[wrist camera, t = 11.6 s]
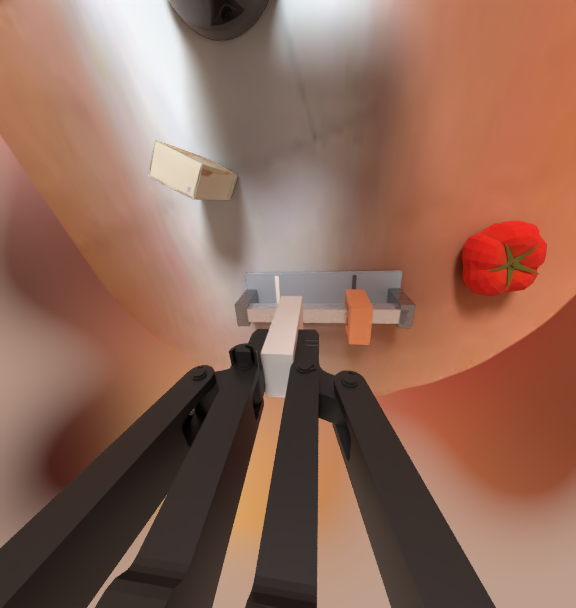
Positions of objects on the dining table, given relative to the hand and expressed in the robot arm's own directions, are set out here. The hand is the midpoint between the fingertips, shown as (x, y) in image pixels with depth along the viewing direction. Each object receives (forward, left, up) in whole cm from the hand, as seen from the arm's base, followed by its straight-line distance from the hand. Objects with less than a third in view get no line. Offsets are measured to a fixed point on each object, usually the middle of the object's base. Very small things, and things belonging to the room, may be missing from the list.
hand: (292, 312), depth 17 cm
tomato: (+25, +15, -27) cm, 40 cm away
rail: (+7, -7, -27) cm, 28 cm away
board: (+7, -7, -27) cm, 28 cm away
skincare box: (-19, +1, -27) cm, 33 cm away
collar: (+12, -3, -23) cm, 26 cm away
